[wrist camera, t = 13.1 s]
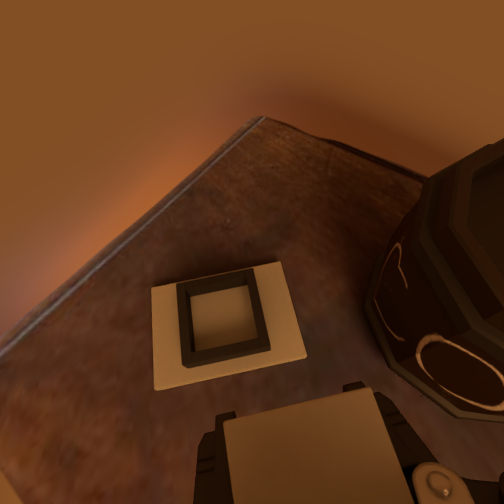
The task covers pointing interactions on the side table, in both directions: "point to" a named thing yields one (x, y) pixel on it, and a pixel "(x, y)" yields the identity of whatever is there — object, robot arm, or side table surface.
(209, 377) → the base pad
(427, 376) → the barrel
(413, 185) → the side table surface
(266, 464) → the tan rectangular block
